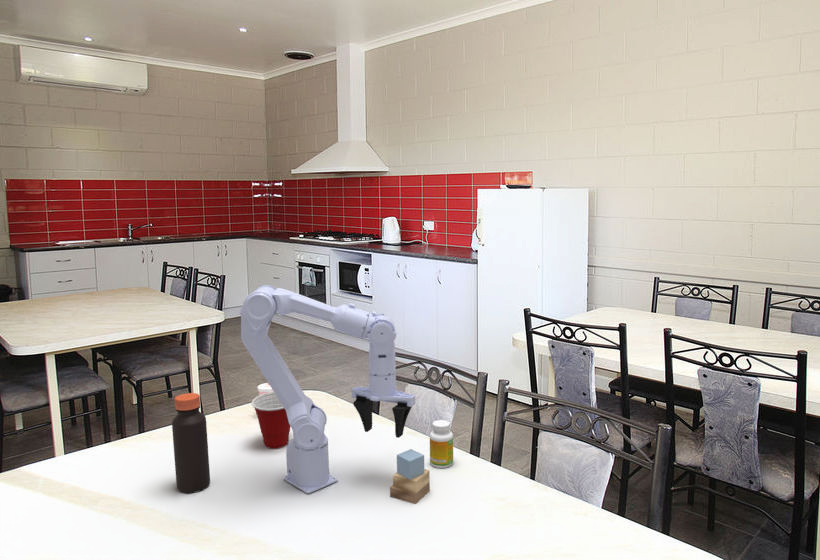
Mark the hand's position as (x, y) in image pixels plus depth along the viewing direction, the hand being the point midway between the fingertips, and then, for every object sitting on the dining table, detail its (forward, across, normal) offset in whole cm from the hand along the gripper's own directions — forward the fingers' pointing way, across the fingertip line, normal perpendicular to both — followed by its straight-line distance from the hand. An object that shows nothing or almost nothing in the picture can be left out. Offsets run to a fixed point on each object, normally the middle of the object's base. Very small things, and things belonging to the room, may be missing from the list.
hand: (383, 433), depth 126 cm
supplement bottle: (+11, +9, +12) cm, 18 cm away
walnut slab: (+11, +8, -4) cm, 14 cm away
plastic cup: (+11, -33, +5) cm, 35 cm away
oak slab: (+8, +8, -4) cm, 12 cm away
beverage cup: (+11, -47, +20) cm, 52 cm away
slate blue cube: (+6, +8, -4) cm, 11 cm away
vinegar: (+11, -36, -20) cm, 42 cm away
